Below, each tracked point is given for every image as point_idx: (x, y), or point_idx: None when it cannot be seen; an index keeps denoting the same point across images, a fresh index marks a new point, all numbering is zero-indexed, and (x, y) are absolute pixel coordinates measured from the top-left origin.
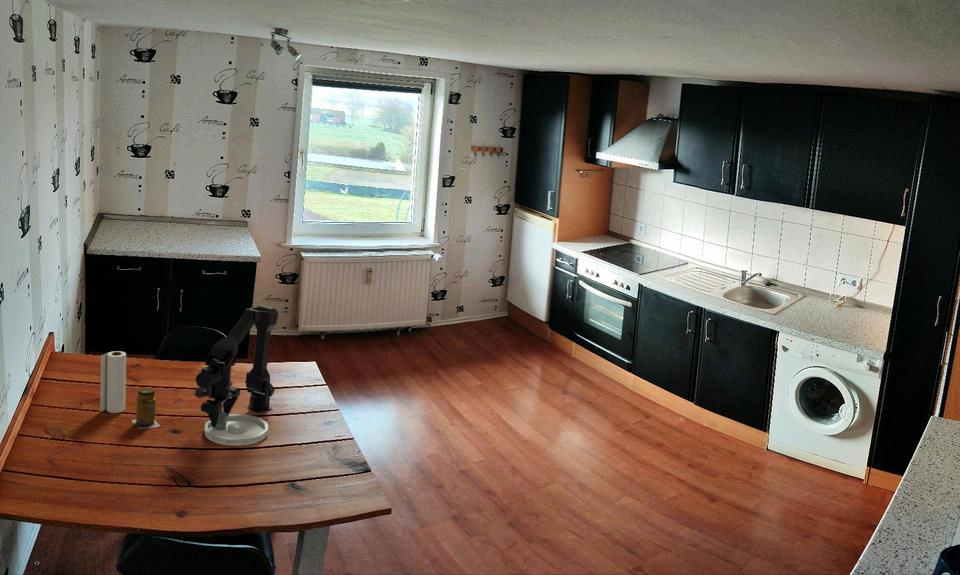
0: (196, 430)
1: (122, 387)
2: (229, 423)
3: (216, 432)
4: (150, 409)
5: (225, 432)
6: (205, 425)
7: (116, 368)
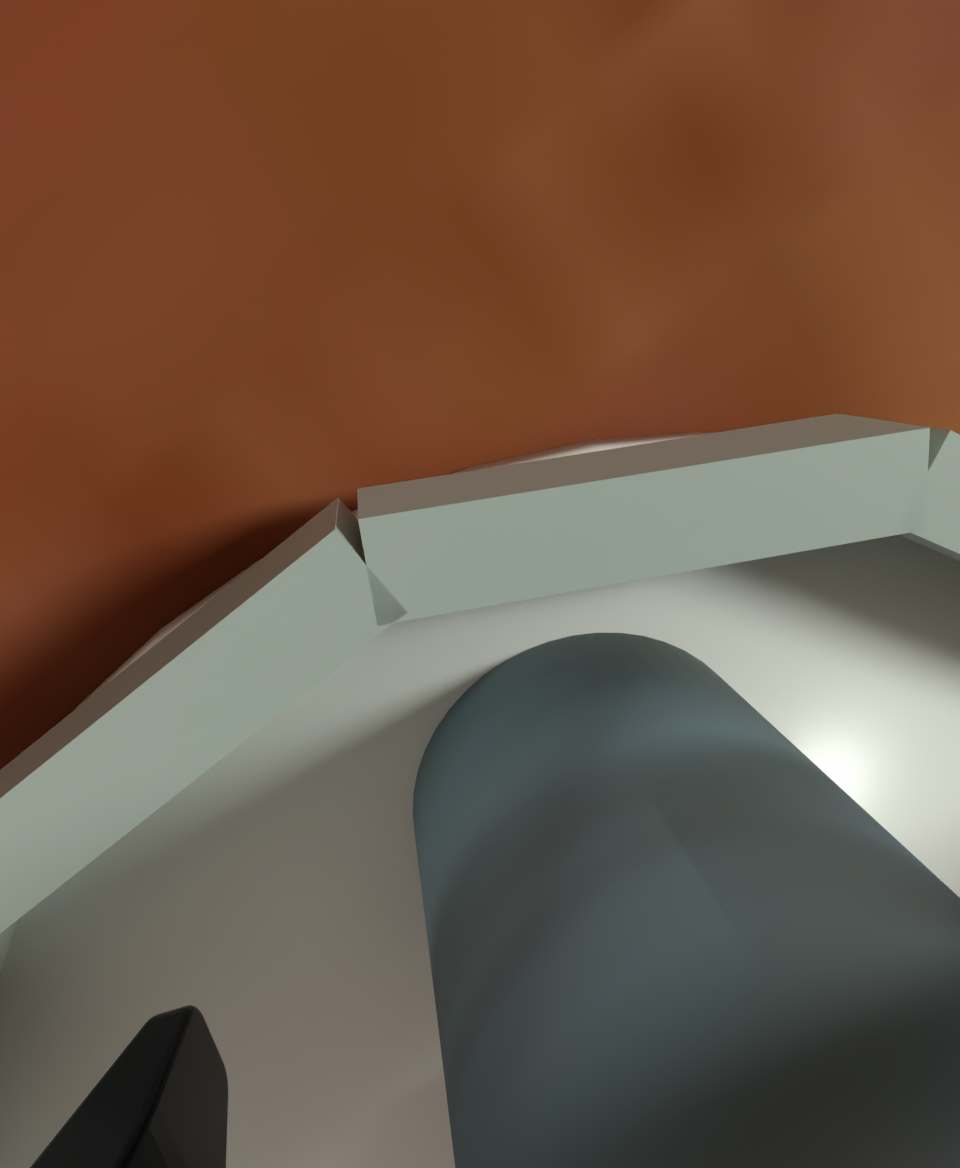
0: (120, 315)
1: None
2: (918, 810)
3: (277, 948)
4: None
5: (420, 1080)
6: (190, 665)
7: None
